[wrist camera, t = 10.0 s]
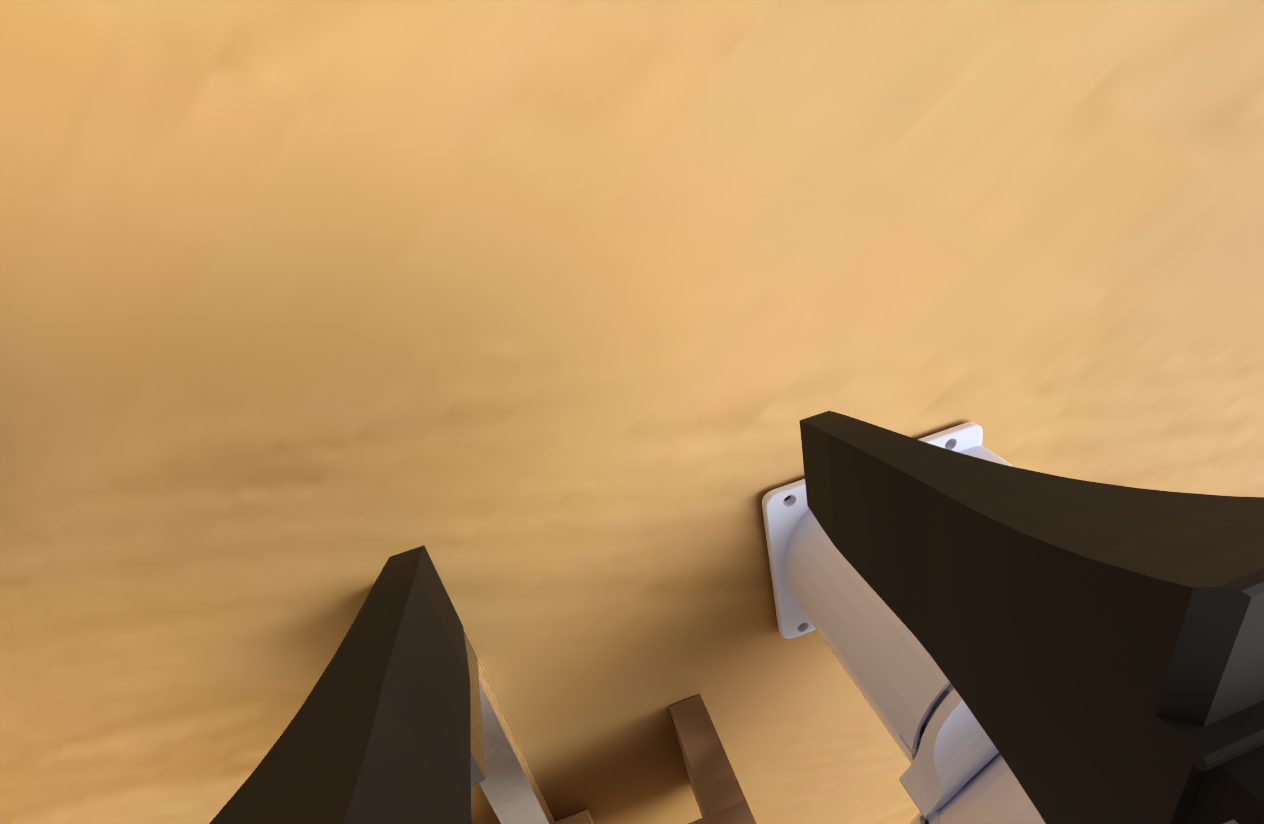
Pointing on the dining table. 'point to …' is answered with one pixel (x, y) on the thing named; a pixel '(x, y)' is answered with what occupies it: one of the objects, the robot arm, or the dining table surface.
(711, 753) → the walnut shelf
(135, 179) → the dining table surface
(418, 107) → the dining table surface
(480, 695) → the blade tool
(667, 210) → the dining table surface
